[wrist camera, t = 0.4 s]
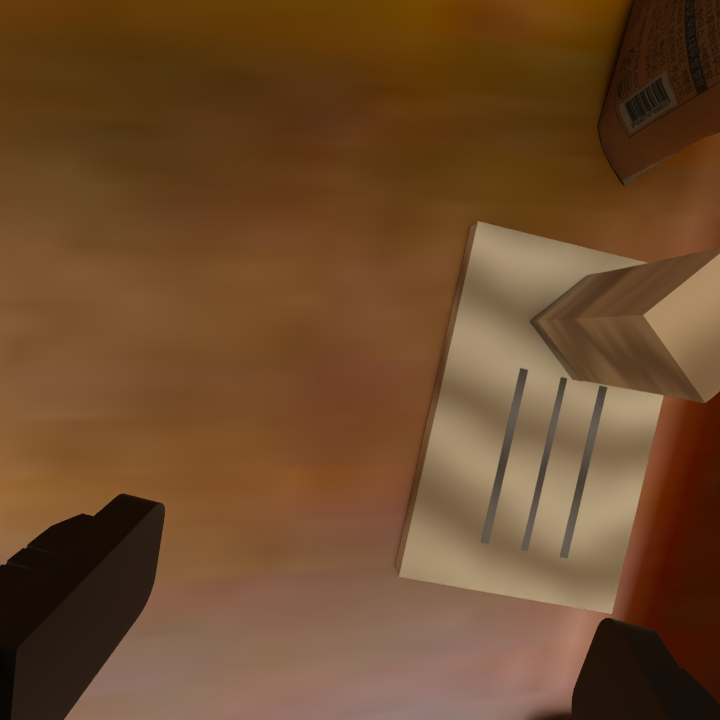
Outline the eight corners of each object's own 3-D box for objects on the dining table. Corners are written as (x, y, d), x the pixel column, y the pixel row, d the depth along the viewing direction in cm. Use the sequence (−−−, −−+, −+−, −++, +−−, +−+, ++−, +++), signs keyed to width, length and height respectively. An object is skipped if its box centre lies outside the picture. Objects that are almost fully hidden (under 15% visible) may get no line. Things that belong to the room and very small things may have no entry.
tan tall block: (529, 320, 32) (642, 315, 21) (586, 275, 32) (729, 244, 21) (572, 379, 32) (705, 403, 21) (629, 333, 32) (790, 334, 21)
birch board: (470, 226, 33) (478, 221, 31) (675, 276, 34) (692, 273, 32) (395, 565, 33) (398, 577, 32) (598, 601, 35) (612, 614, 33)
